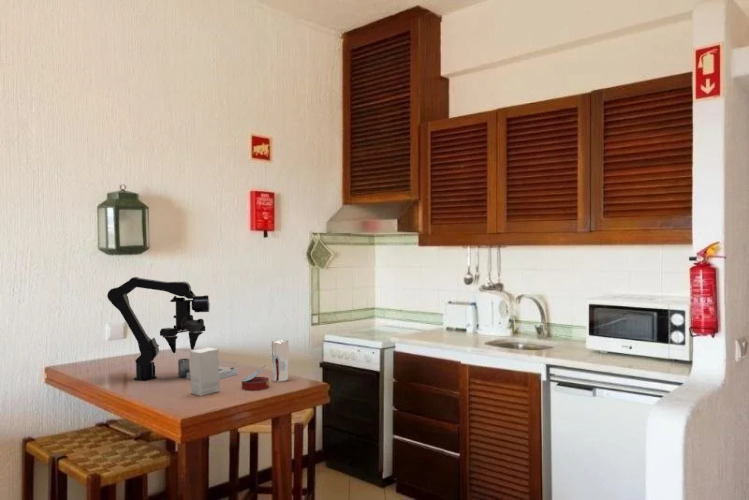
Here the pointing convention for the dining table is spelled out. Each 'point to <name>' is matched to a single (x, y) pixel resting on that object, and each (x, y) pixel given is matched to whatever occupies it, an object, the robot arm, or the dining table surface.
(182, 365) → the cylinder
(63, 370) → the dining table surface
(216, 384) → the skincare box
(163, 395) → the dining table surface
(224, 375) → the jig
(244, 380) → the canned food
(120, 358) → the dining table surface
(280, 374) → the white tall container
